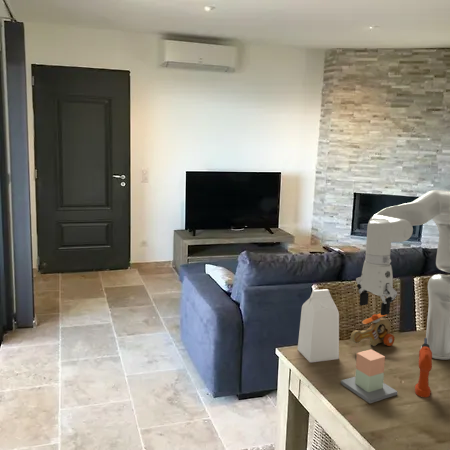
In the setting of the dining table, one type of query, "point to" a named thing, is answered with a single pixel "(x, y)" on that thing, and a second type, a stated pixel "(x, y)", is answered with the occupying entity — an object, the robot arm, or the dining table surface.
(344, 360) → the dining table surface
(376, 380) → the sage block
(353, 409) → the dining table surface
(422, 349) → the toy drill
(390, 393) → the gray plate
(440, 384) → the dining table surface
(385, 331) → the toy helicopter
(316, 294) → the milk
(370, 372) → the terracotta block
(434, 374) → the dining table surface
